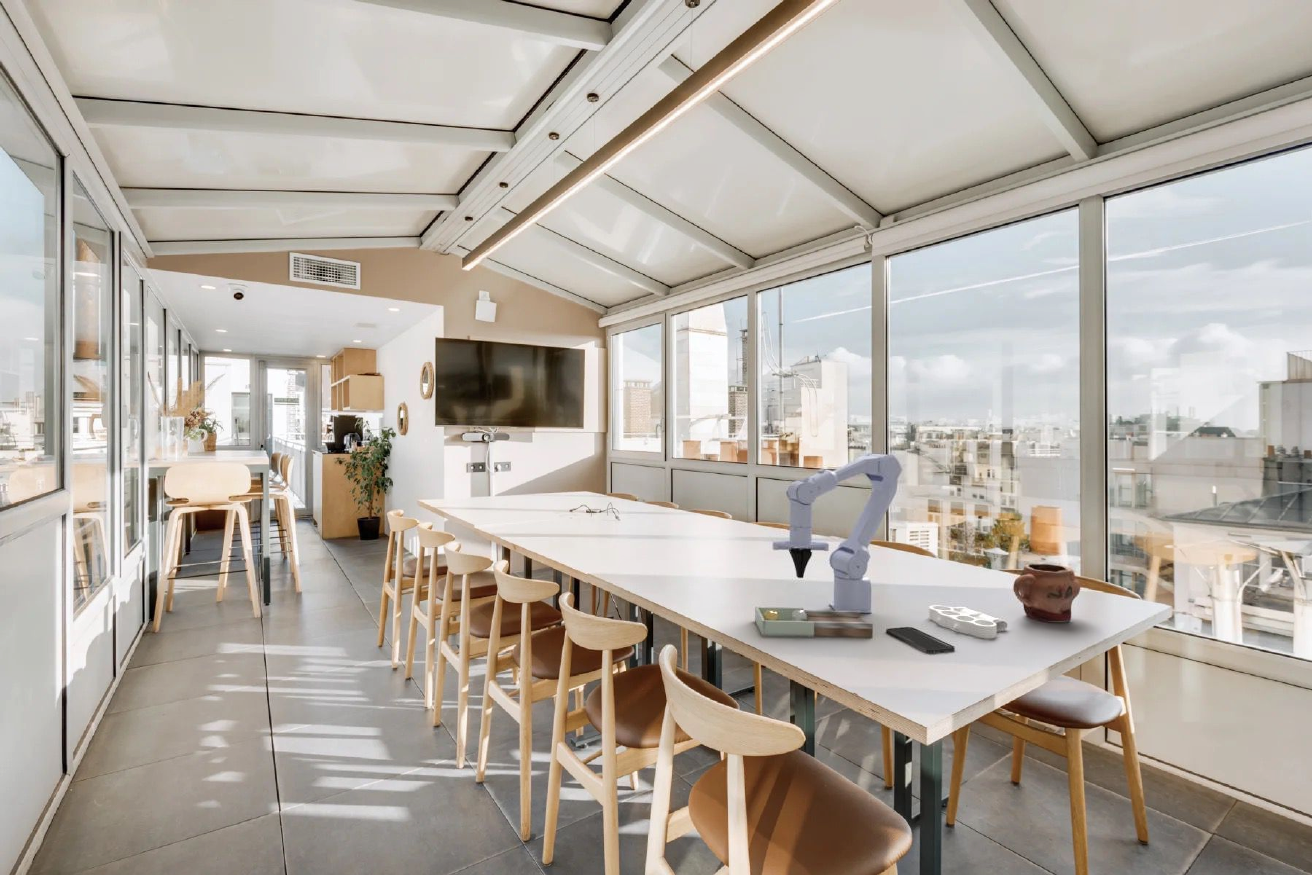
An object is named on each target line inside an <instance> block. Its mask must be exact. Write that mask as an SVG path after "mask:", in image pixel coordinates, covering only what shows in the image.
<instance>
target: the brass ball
mask: <svg viewBox="0 0 1312 875" xmlns="http://www.w3.org/2000/svg"><path fill="white" fill-rule="evenodd" d="M763 618H764V620H765V621H779V615H778V613H777V612H776V611H774V610H767V611H766V612H765V613H764V614H763Z"/></svg>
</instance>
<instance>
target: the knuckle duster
mask: <svg viewBox="0 0 1312 875" xmlns="http://www.w3.org/2000/svg"><path fill="white" fill-rule="evenodd" d="M928 619H929V621H932V622H936V623H937V625H939V626H940V627H942V628H947V629H950V630H952V631H953V632H957V633H960V634H967V635H971V636H973V637H976V638H979V639H986V640H987V639H988V640H990V639H995V638H997V632H1003V631H1006V629H1007V628H1008V622H1007V621H1006V620H1004V619H1002V618H996V617H993V616H990V615H989V614H986V613H983V612H979V611H976V610H972V609H969V608H968V607H965V606H964V607H963V606H957V607H954V606H948V605H947V606H946V605H941V604H940V605H937V604H934V605H930V606H929V607H928Z"/></svg>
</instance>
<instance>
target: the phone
mask: <svg viewBox="0 0 1312 875" xmlns="http://www.w3.org/2000/svg"><path fill="white" fill-rule="evenodd" d="M885 633H886V634H887V635H889V636H891V637H893V638H895V639H897V640H899V641H901V642H903V643H905V644H907V645H908V646H910V647H913V648H915V649H916V650H919V651H921V652H923V653H925V654H929V655H932V654H940V653H941V654H943V653H954V652H955V646H954V645H951V644H950V643H947V642H945V641H943V640H941V639H939V638H936V637H935V636H932V635H930V634H928V633H926V632H924V631H922V630H919V629H918V628H915V627H913V626H903V627H901V626H900V627H891V628H886V630H885Z"/></svg>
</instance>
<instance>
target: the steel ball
mask: <svg viewBox="0 0 1312 875" xmlns="http://www.w3.org/2000/svg"><path fill="white" fill-rule="evenodd" d="M803 610H804V609H803ZM803 610H800V609H797V610H794V611H793V612H792V614H791V621H807V614H806V613H805V612H804V611H803Z"/></svg>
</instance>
